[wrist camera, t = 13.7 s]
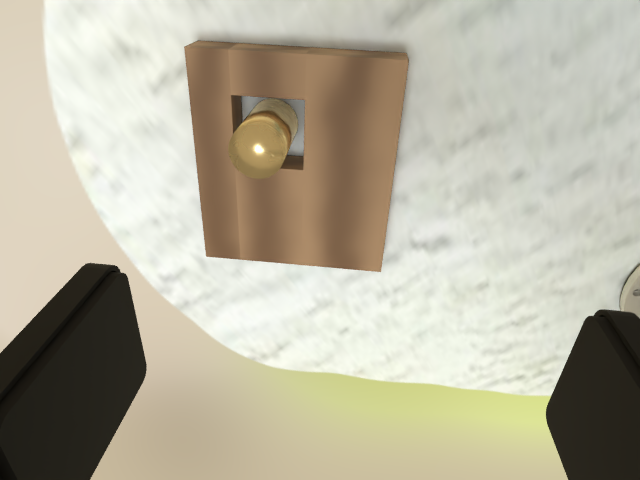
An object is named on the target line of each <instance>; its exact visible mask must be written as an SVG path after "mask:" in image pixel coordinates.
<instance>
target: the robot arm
mask: <svg viewBox="0 0 640 480" xmlns="http://www.w3.org/2000/svg"><path fill="white" fill-rule="evenodd" d="M620 309H621V311H614V310H599V311H597V312H596V313H595V315H594V316H588V317H587V318H586V319H585V321H584V323H583V325H582V328H581V330H580V332H579V335H578V337H577V339H576V341H575V344H574V346H573V348H572V350H571V353H570V355H569V357H568V360H567V362H566V364H565V366H564V369H563V371H562V373H561V375H560V378H559V380H558V382H557V385H556V387H555V389H554V391H553V394H552V396H551V398H550V401H549V403H548V405H547V409H546V419H547V424H548V427H549V430H550V432H551V435H552V438H553V440H554V443H555V445H556V448H557V451H558V453H559V456H560V459H561V461H562V464H563V467H564V469H565V472H566V475H567V477H568V480H640V266H638V267H637V268H636V270H635V271H634V272H633V273H632V275H631V276H630V277H629V279H628V281H627V282H626V284H625V286H624V288H623V291H622V295H621V298H620ZM145 374H146V361H145V356H144V351H143V346H142V342H141V337H140V332H139V328H138V323H137V318H136V314H135V309H134V304H133V300H132V295H131V291H130V287H129V281H128V278H127V276H126V274H124V273H121V272H120V269H118V267H117V266H115V265H106V264H95V263H88V264H85V265H84V266H83V267H82V268H81V269H80V270H79V271H78V272H77V273H76V274H75V275H74V276H73V277H72V278H71V279H70V280H69V281H68V283H66V284H65V286H64V287H63V288H62V289H61V290H60V291H59V292H58V293H57V294H56V295H55V296H54V297H53V298H52V299H51V300H50V301H49V302H48V303H47V305H46V306H45V307H44V308H43V309H42V310H41V311H40V312H39V313H38V314H37V315H36V316H35V317H34V318H33V319H32V320H31V322H30V323H29V324H28V325H27V326H26V327H25V328H24V329H23V330H22V331H21V332H20V333H19V334H18V335H17V336H16V337H15V338H14V340H13V341H12V342H11V343H10V344H9V345H8V346H7V347H6V348H5V349H4V350H3V351H2V352H1V353H0V480H90V479H91V477H92V475H93V473H94V471H95V469H96V468H97V466H98V464H99V462H100V460H101V458H102V456H103V455H104V453H105V451H106V449H107V447H108V445H109V444H110V442H111V440H112V438H113V436H114V434H115V433H116V431H117V429H118V427H119V425H120V423H121V422H122V420H123V418H124V416H125V414H126V412H127V410H128V409H129V407H130V405H131V403H132V401H133V399H134V398H135V396H136V394H137V392H138V390H139V388H140V386H141V385H142V383H143V381H144V378H145Z"/></svg>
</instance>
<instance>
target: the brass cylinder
mask: <svg viewBox="0 0 640 480" xmlns="http://www.w3.org/2000/svg"><path fill="white" fill-rule="evenodd" d="M297 129H298V120H297V116H296V114H295V112H294V110H293V109H292V107H291V106H290V105H289V104H287V103H286V102H284V101H282V100H279V99H266V100H263V101H261V102H259V103H258V104H257V105H256V106H255V107H254V109H253V110H252V111H251V112H250V114H249V115H248V116H247V117H246V119H245V120H244V121H243V122H242V124H241V125H240V126H239V127H238V129H237V130H236V131H235V132H234V134H233V135H232V137H231V139H230V141H229V146H228V152H229V157H230V159H231V162H232V163H233V165H234V166H235V168H236V169H237V170H238V171H239V172H241V173H242V174H244V175H246V176H248V177H251V178H255V179H263V178H268V177H270V176H272V175H274V174H275V173H276V172H277V171H278V170H279V169H280V168H281V166H282V164H283V162H284V159H285V157H286V155H287V153H288V150H289V148H290V146H291V144H292V141H293V139H294V137H295V135H296V132H297Z"/></svg>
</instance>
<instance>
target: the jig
mask: <svg viewBox="0 0 640 480" xmlns="http://www.w3.org/2000/svg"><path fill="white" fill-rule="evenodd" d="M184 48H185V58H186V67H187V77H188V86H189V96H190V106H191V115H192V125H193V135H194V144H195V154H196V163H197V173H198V183H199V192H200V202H201V211H202V221H203V231H204V240H205V250H206V256H207V257H218V258H229V259H241V260H252V261H263V262H275V263H286V264H297V265H309V266H320V267H331V268H343V269H354V270H365V271H377V272H381V267H382V259H383V252H384V244H385V237H386V229H387V222H388V214H389V206H390V199H391V191H392V184H393V176H394V169H395V161H396V153H397V146H398V138H399V131H400V123H401V116H402V108H403V101H404V93H405V85H406V78H407V70H408V63H409V59H408V57H407V54H406V53H398V52H381V51H364V50H348V49H331V48H314V47H297V46H280V45H263V44H246V43H229V42H212V41H196V42H194V43H192V44H189V45H187V46H185V47H184ZM241 96H253V97H268V98H283V99H298V100H305V125H304V157H303V156H289V155H286V157H285V159H284V162H283V164H282V166H281V168H280V169H279V170H278V171H277V172H276V173H275V174H274V175H272V176H270V177H268V178H263V179H255V178H251V177H248V176H246V175H244V174H242V173H241V172H239V171H238V170H237V169H236V168H235V166H234V165H233V163H232V162H231V159H230V157H229V152H228V146H229V141H230V139H231V137H232V135H233V134H234V132H235V131H236V130H237V129H238V127H239V126H240V125H241V124H242V106H241Z"/></svg>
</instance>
